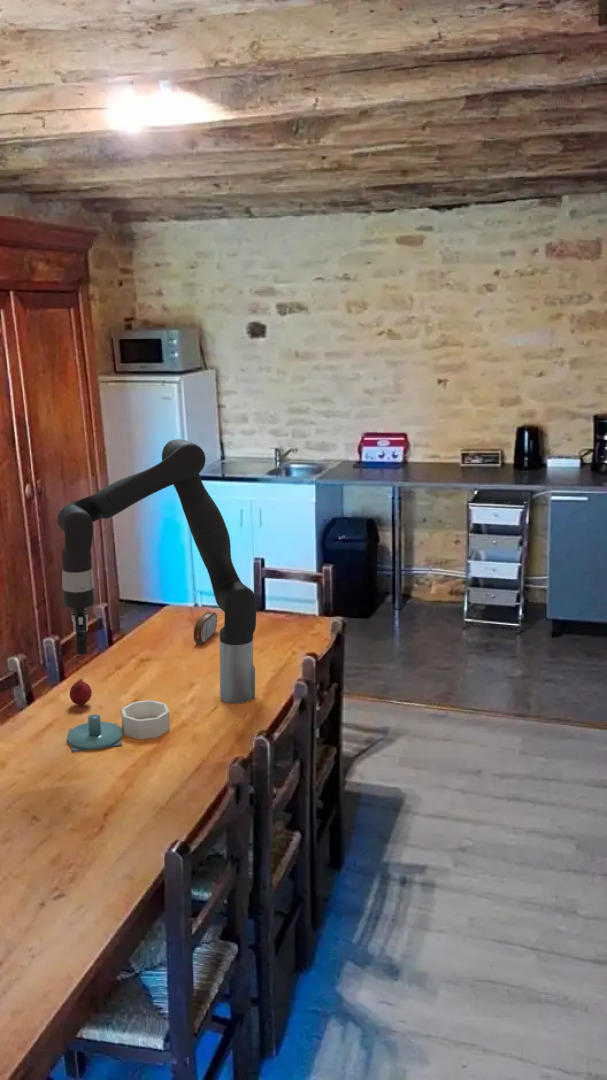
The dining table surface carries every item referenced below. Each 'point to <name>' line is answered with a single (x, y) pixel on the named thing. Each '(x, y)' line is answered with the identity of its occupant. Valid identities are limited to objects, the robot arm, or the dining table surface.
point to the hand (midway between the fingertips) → (81, 647)
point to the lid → (94, 734)
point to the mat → (92, 749)
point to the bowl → (145, 719)
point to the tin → (205, 627)
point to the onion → (80, 692)
